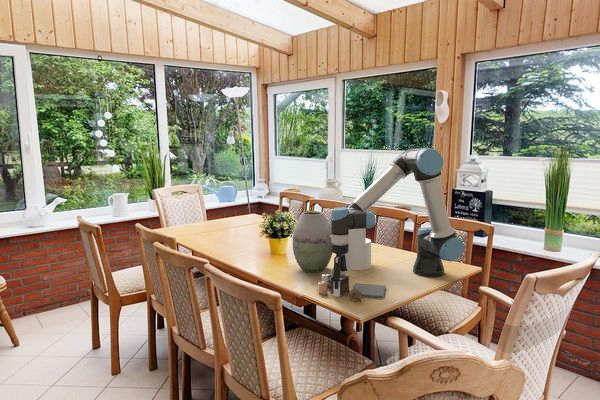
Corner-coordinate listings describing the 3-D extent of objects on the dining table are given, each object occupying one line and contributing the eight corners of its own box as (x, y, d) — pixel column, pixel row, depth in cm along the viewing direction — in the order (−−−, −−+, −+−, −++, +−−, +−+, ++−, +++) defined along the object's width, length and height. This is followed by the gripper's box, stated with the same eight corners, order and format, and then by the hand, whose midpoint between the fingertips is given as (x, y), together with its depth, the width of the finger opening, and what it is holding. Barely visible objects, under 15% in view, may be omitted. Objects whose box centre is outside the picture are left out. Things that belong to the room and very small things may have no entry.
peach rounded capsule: (328, 292, 187) (328, 281, 186) (326, 295, 183) (326, 284, 182) (319, 291, 188) (319, 281, 187) (317, 295, 184) (317, 283, 183)
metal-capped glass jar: (333, 285, 196) (333, 273, 195) (331, 289, 191) (331, 276, 190) (323, 284, 197) (323, 272, 196) (320, 288, 192) (320, 275, 191)
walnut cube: (359, 298, 179) (359, 289, 179) (360, 302, 175) (361, 292, 175) (350, 298, 180) (350, 289, 179) (351, 302, 176) (351, 292, 175)
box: (338, 289, 191) (338, 273, 190) (349, 292, 187) (349, 276, 186) (330, 293, 186) (330, 277, 185) (341, 296, 182) (341, 279, 181)
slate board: (385, 287, 192) (385, 285, 191) (383, 298, 178) (383, 296, 178) (354, 285, 195) (354, 283, 195) (350, 296, 182) (350, 293, 182)
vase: (299, 262, 235) (298, 209, 231) (337, 265, 228) (337, 210, 224) (287, 273, 214) (286, 215, 210) (328, 277, 208) (328, 217, 204)
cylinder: (352, 272, 215) (352, 218, 212) (332, 264, 230) (332, 213, 226) (377, 266, 225) (378, 214, 221) (356, 259, 239) (357, 210, 235)
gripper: (336, 236, 196) (336, 280, 199) (325, 249, 173) (325, 299, 175) (352, 237, 194) (352, 282, 197) (343, 250, 170) (343, 301, 173)
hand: (339, 290), depth 186 cm, fingers open, 13 cm apart
